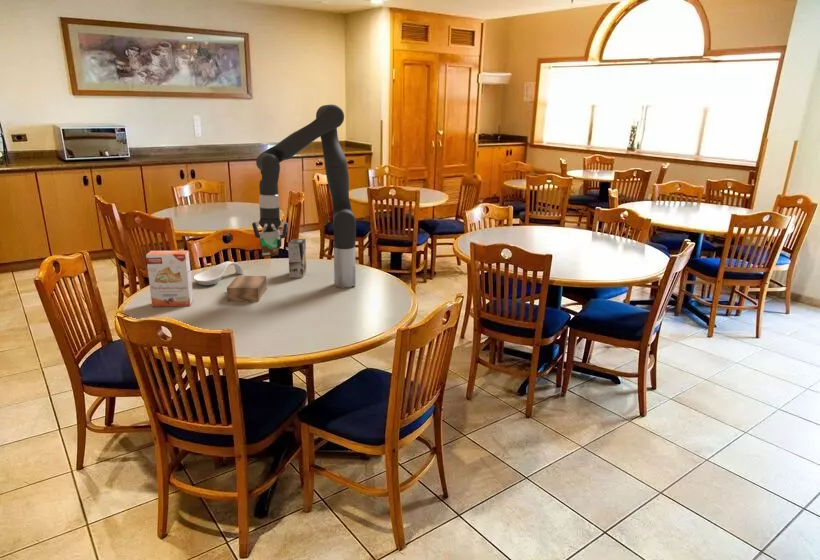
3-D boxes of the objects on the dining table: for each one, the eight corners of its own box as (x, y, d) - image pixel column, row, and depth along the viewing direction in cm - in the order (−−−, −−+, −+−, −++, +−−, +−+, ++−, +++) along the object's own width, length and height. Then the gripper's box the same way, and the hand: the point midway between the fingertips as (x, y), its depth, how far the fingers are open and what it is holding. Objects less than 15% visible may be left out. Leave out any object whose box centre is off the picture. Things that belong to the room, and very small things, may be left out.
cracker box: (151, 307, 203) (144, 254, 197) (156, 302, 209) (149, 250, 203) (190, 306, 205) (185, 253, 199) (194, 301, 211) (188, 249, 205)
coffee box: (303, 278, 243) (301, 243, 238) (289, 277, 243) (287, 242, 239) (307, 272, 252) (306, 238, 247) (293, 271, 252) (292, 238, 247)
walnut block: (266, 289, 228) (266, 276, 226) (258, 302, 213) (257, 288, 211) (238, 289, 227) (237, 275, 225) (227, 302, 212) (226, 287, 210)
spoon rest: (206, 290, 225) (205, 273, 223) (188, 285, 231) (186, 269, 228) (249, 276, 245) (248, 261, 242) (230, 271, 250) (229, 257, 248)
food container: (277, 258, 210) (275, 233, 206) (261, 257, 210) (259, 232, 206) (284, 250, 221) (283, 226, 218) (269, 249, 221) (268, 226, 218)
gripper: (289, 204, 214) (290, 246, 219) (252, 203, 212) (254, 245, 217) (286, 208, 207) (288, 250, 212) (248, 207, 205) (250, 250, 210)
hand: (271, 247), depth 214 cm, fingers closed on food container, 5 cm apart
